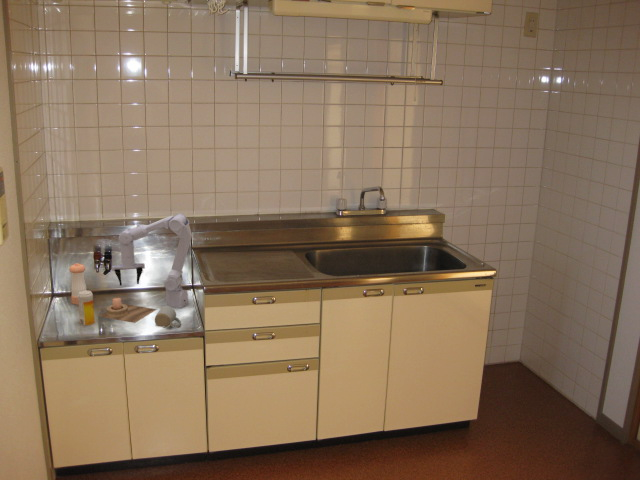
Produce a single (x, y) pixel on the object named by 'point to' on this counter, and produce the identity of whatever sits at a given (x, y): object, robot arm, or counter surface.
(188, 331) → the counter surface
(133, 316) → the board
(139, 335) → the counter surface
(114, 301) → the peg
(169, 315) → the ceramic mug
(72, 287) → the salt shaker
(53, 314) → the counter surface
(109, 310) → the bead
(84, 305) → the yellow labeled bottle
